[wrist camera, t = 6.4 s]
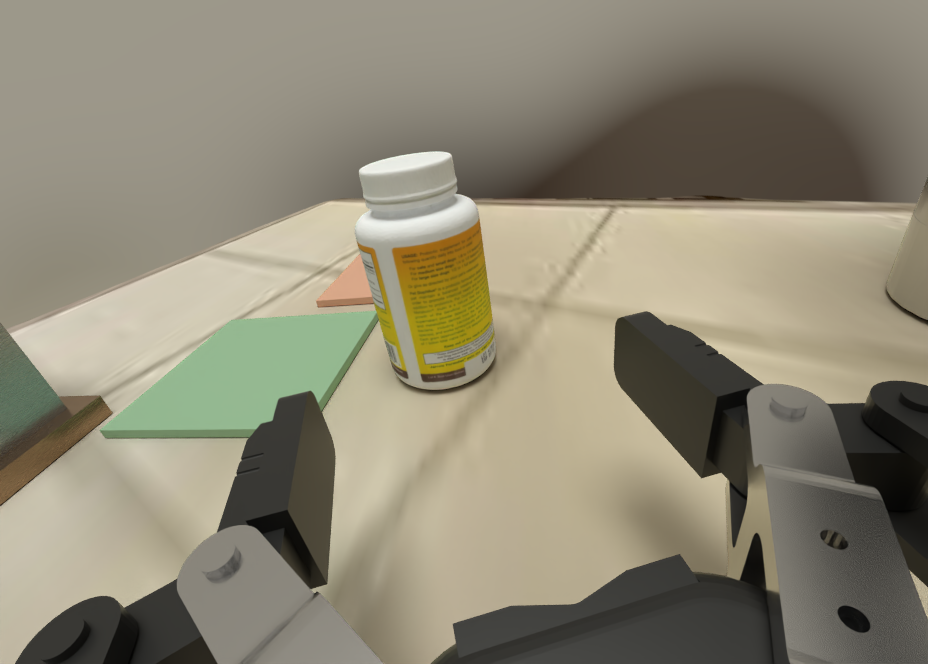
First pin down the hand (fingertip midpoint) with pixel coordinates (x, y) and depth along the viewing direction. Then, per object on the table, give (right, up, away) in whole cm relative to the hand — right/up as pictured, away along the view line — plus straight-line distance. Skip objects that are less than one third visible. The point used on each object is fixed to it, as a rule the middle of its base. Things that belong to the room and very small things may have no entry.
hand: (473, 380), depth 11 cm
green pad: (-12, -1, +14) cm, 18 cm away
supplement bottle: (-1, 0, +12) cm, 12 cm away
